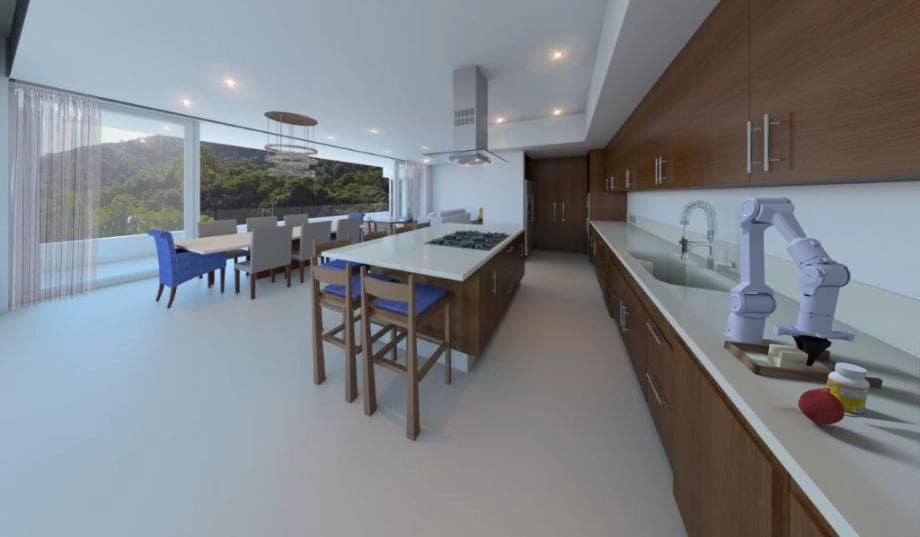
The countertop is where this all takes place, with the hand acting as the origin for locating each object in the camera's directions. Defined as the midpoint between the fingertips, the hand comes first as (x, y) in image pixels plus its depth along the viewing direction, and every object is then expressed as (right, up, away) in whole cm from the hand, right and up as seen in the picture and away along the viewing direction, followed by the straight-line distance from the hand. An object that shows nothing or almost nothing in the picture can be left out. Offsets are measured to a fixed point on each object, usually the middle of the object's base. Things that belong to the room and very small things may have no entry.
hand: (806, 364), depth 80 cm
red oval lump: (-18, -6, -18) cm, 26 cm away
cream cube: (-4, -1, +1) cm, 4 cm away
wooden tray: (-1, -2, +3) cm, 4 cm away
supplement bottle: (-8, -5, -14) cm, 17 cm away
